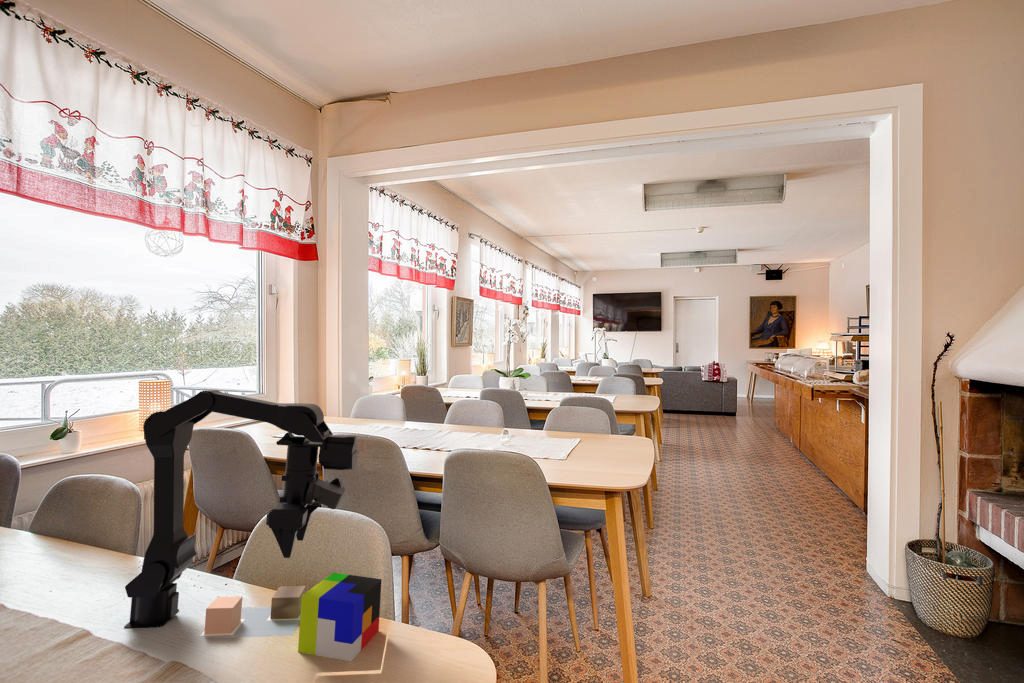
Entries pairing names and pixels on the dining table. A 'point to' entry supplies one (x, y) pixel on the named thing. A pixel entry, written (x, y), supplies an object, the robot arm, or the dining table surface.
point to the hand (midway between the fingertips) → (294, 548)
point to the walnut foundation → (287, 602)
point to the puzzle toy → (339, 616)
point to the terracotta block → (223, 615)
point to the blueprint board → (258, 625)
